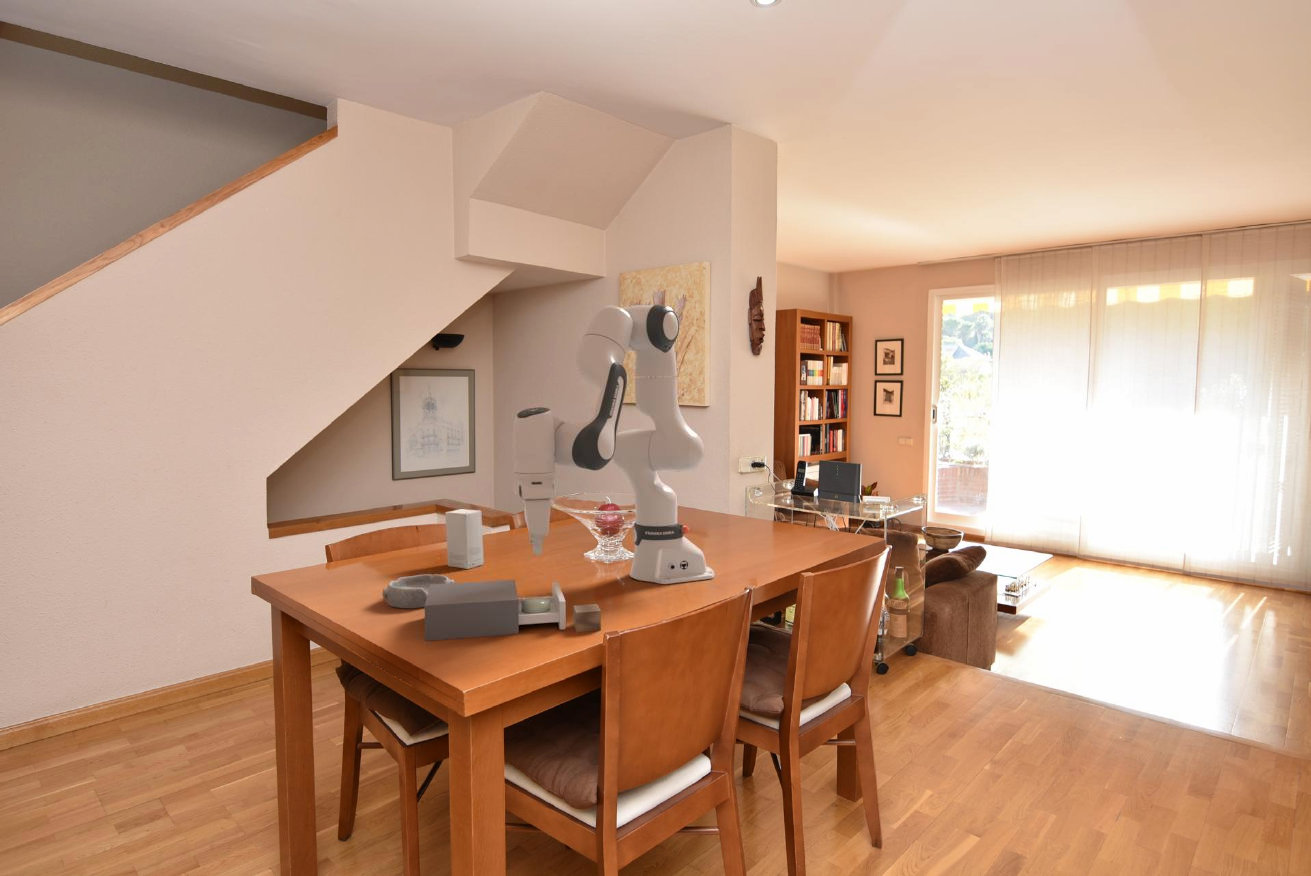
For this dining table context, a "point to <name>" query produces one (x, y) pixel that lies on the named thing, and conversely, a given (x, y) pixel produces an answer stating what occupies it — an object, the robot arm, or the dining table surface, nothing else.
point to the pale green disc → (535, 605)
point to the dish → (412, 590)
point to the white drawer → (554, 615)
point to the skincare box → (464, 538)
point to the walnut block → (586, 617)
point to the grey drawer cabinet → (471, 610)
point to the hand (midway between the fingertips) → (536, 549)
